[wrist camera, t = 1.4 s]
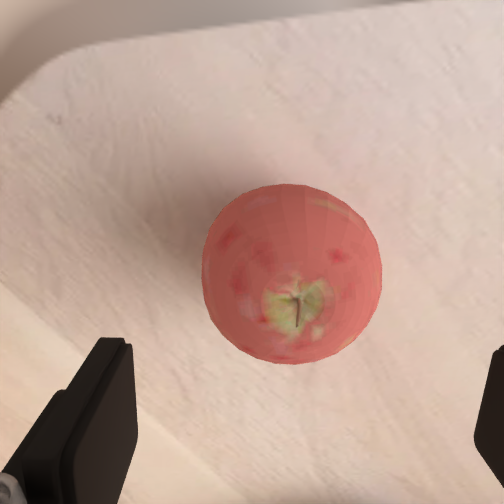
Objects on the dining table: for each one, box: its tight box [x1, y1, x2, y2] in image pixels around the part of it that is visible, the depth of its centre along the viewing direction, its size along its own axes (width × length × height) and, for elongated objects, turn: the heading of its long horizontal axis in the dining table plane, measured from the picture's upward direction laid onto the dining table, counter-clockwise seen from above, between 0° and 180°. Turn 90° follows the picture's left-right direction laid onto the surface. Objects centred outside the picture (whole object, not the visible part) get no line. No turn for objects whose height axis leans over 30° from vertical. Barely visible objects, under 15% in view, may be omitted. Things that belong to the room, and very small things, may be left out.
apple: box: [202, 184, 382, 365], centre depth 18 cm, size 7×7×8 cm
